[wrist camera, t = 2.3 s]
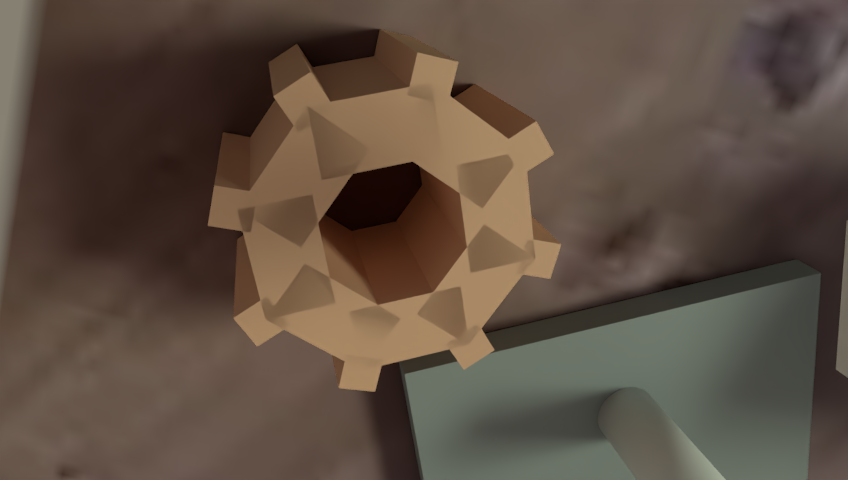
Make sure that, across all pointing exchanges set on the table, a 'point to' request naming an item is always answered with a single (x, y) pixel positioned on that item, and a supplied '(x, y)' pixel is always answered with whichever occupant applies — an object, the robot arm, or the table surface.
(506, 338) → the gear board
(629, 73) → the table surface
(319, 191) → the gear
